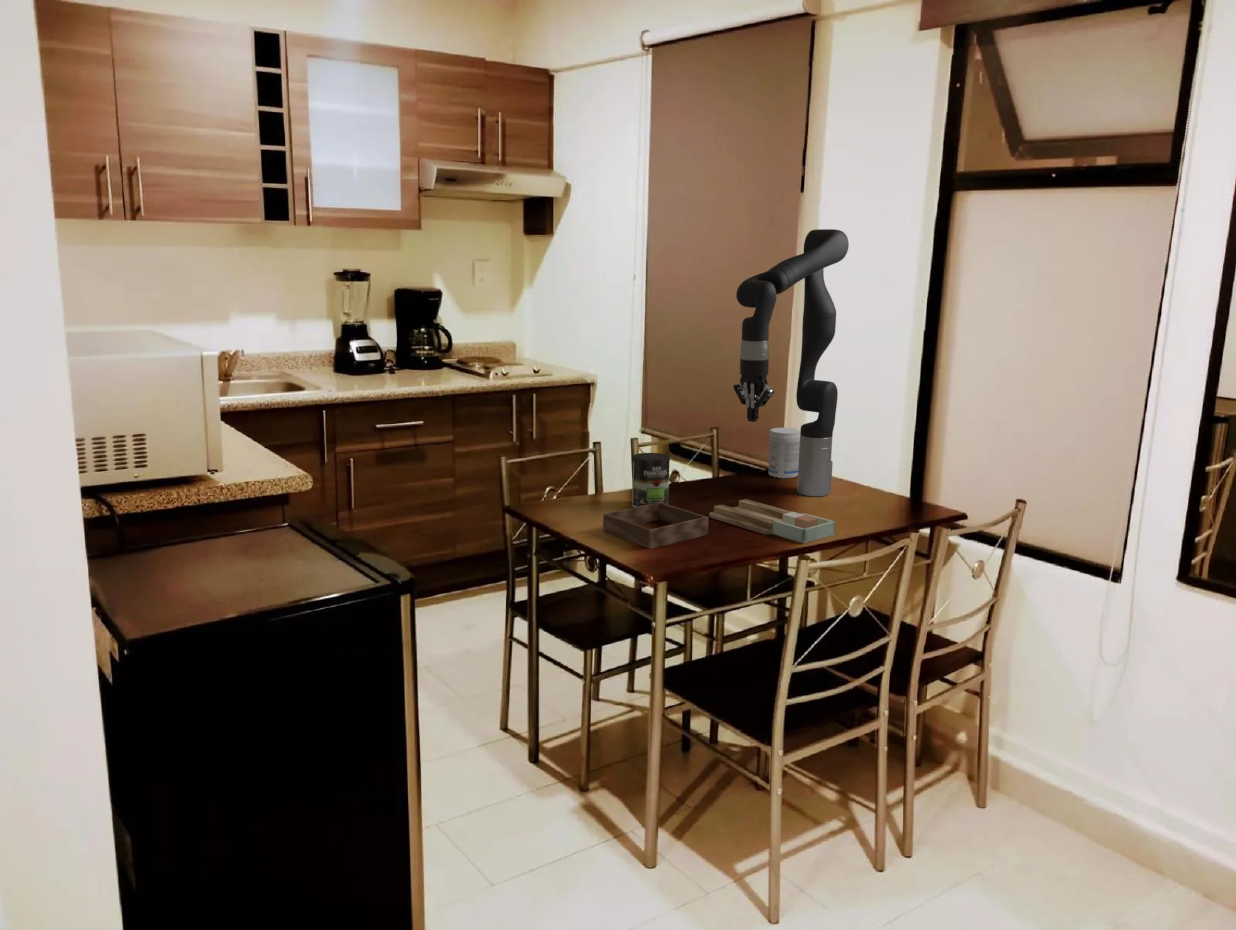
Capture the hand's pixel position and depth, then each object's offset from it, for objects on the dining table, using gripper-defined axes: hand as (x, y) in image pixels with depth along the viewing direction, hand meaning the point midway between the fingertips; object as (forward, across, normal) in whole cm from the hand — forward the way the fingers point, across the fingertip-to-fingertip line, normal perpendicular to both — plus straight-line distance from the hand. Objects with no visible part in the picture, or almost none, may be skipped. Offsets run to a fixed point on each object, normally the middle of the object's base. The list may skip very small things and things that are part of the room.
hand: (752, 421), depth 255 cm
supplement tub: (+26, +20, -38) cm, 50 cm away
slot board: (+24, -9, +8) cm, 27 cm away
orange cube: (+24, -26, +8) cm, 36 cm away
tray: (+24, -25, +8) cm, 36 cm away
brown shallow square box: (+24, -1, +36) cm, 43 cm away
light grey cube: (+24, -22, +8) cm, 33 cm away
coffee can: (+24, +19, +20) cm, 37 cm away
